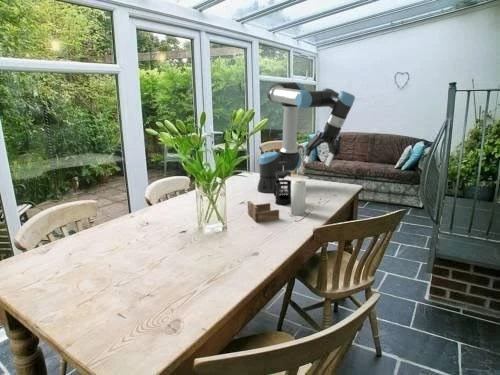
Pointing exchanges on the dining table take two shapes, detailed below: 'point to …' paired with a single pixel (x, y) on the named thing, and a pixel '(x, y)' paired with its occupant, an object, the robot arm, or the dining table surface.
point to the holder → (262, 212)
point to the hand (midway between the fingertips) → (316, 163)
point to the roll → (298, 197)
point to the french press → (283, 195)
